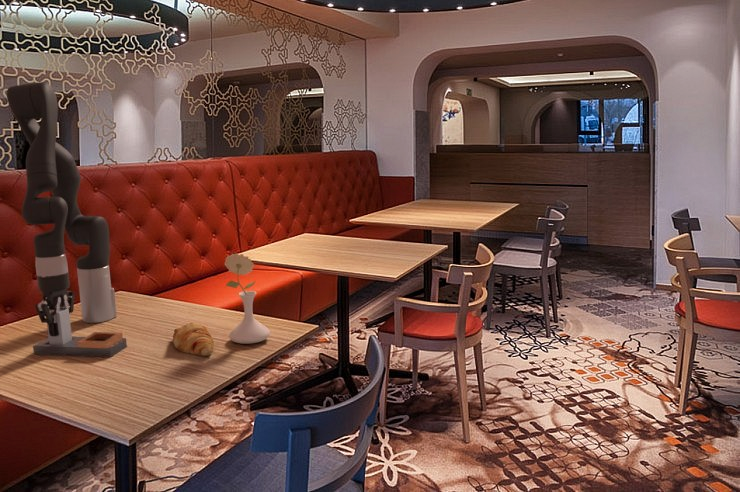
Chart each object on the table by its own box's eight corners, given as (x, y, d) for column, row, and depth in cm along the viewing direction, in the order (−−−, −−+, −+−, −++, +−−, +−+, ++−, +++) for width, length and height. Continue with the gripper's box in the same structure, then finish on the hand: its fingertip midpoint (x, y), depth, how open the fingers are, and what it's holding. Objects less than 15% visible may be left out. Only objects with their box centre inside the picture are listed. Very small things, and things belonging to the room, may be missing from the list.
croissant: (221, 367, 157) (232, 339, 158) (188, 359, 150) (200, 330, 151) (186, 346, 172) (197, 320, 173) (155, 337, 165) (166, 311, 166)
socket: (126, 346, 163) (125, 332, 162) (110, 357, 155) (109, 342, 155) (53, 344, 166) (51, 330, 165) (33, 354, 158) (32, 340, 157)
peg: (72, 343, 163) (68, 308, 161) (63, 348, 159) (59, 313, 157) (59, 343, 163) (55, 308, 162) (49, 348, 160) (45, 312, 158)
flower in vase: (278, 336, 170) (274, 251, 165) (254, 349, 159) (249, 259, 155) (241, 331, 175) (236, 248, 171) (216, 343, 165) (210, 255, 160)
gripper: (56, 265, 165) (63, 324, 168) (21, 278, 151) (29, 341, 154) (81, 266, 164) (87, 325, 167) (48, 278, 150) (56, 342, 153)
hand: (59, 332), depth 161 cm, fingers closed on peg, 4 cm apart
